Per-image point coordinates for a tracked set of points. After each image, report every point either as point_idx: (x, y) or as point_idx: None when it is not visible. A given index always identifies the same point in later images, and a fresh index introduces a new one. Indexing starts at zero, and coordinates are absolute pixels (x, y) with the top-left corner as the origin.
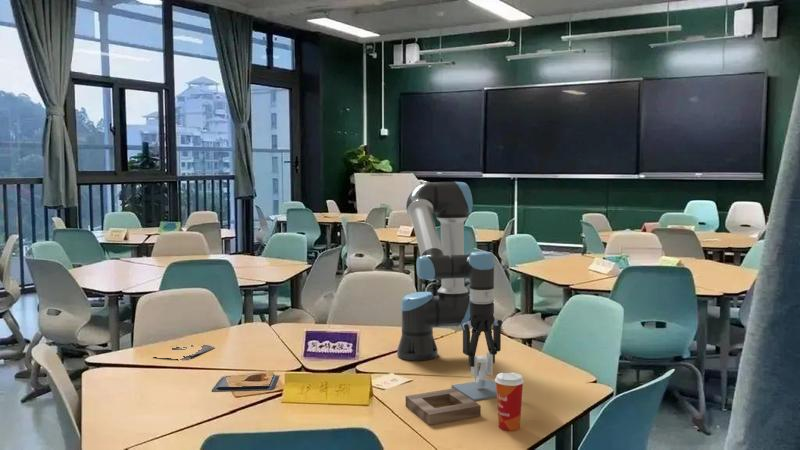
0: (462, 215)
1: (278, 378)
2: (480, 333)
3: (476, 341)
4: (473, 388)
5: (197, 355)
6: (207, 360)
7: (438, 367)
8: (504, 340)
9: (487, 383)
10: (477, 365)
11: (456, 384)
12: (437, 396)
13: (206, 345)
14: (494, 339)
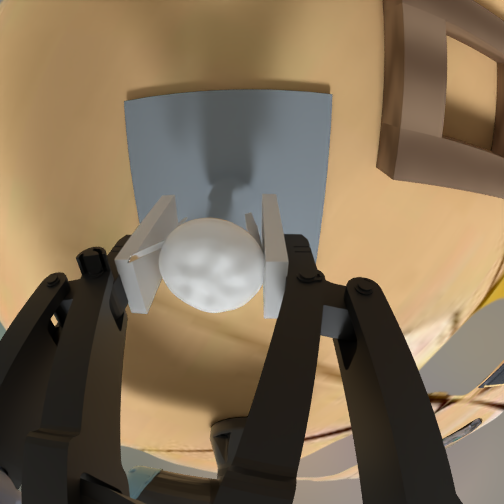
0: None
1: (487, 379)
2: (218, 498)
3: (281, 393)
4: (259, 206)
5: (463, 427)
6: (469, 420)
7: (249, 389)
8: None
9: None
10: (256, 232)
11: None
12: (473, 147)
13: None
14: (50, 371)
